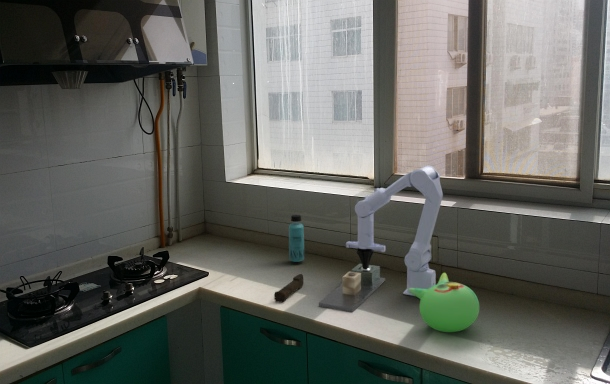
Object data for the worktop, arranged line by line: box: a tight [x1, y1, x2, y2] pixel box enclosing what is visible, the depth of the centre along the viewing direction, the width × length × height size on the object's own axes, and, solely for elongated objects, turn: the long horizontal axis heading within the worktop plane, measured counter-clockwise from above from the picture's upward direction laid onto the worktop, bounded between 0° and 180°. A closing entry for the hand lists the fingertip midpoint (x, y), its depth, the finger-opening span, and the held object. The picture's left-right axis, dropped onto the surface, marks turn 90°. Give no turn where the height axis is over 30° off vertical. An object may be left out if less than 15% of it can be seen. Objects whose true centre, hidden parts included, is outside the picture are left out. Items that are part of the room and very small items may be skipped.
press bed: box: [318, 263, 386, 313], centre depth 195 cm, size 12×31×6 cm, turn 153°
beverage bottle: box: [288, 214, 305, 263], centre depth 228 cm, size 6×7×20 cm
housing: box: [341, 271, 361, 295], centre depth 194 cm, size 4×6×6 cm
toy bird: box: [408, 272, 480, 333], centre depth 165 cm, size 18×17×15 cm
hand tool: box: [273, 273, 304, 303], centre depth 197 cm, size 19×4×5 cm, turn 152°
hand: (365, 268), depth 205 cm, fingers closed, pressing on press pin
